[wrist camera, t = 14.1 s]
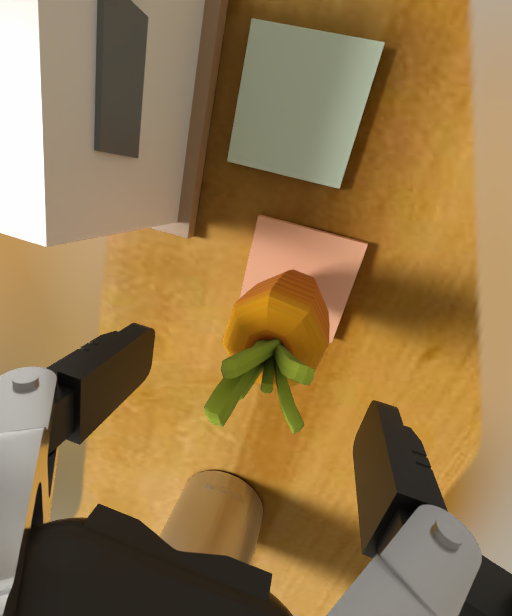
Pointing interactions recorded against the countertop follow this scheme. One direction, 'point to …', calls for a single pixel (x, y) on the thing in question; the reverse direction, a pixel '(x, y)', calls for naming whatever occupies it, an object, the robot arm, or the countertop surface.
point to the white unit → (105, 115)
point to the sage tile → (301, 100)
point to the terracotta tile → (306, 260)
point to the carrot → (272, 344)
